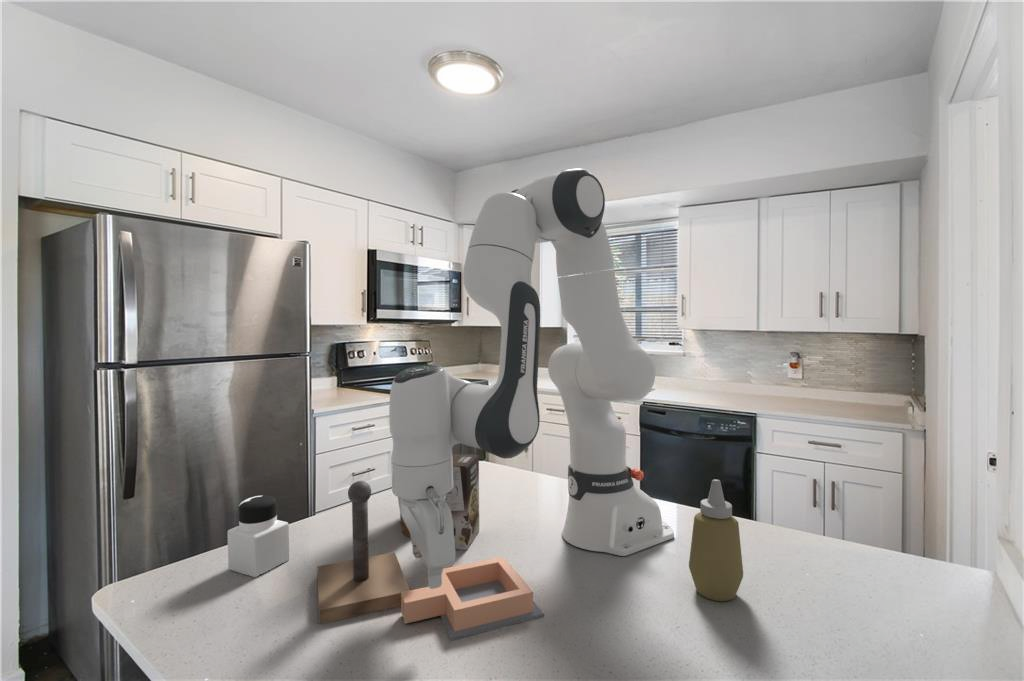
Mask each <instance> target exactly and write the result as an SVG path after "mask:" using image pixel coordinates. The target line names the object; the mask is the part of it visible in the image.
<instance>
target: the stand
mask: <svg viewBox="0 0 1024 681" xmlns="http://www.w3.org/2000/svg"><path fill="white" fill-rule="evenodd" d="M371 494H372V488H371V485H370V484H369V483H368V482H367V481H363V480H358V481H357V480H356V481H355V482H353V483H352V484H350V486H349V488H348V491H347V497H348V499H349V502H351V510H352V511H351V516H352V517H351V519H352V521H351V522H352V523H351V524H352V526H351V528H352V559H351V560H343V561H338V562H334V563H329V564H328V563H327V564H322V565H318V566H316V572H317V573H316V574H317V575H316V577H317V579H316V580H317V596H318V597H317V599H318V602H319V603H318V621H319V625H320V624H321V625H322V624H326V623H329V622H330V623H331V622H333V621H340V620H343V619H348V618H352V617H357V616H361V615H366V614H369V613H374V612H378V611H379V610H380V611H383V610H387V609H388V608H389V609H392V608H397V606H398V607H401V606H400V605H401V592H406V591H411V590H410V588H409V585H408V583H407V580H406V578H405V575H404V572H403V570H402V567H401V564H400V563H399V559H398V557H397V554H396V552H394V551H393V552H388V553H383V554H378V555H377V554H376V555H372V556H369V513H368V512H369V511H368V510H369V507H368V505H369V504H368V501H369V499H370V498H371V496H372V495H371ZM389 609H388V610H389Z"/></svg>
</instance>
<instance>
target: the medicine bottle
mask: <svg viewBox="0 0 1024 681" xmlns="http://www.w3.org/2000/svg"><path fill="white" fill-rule="evenodd" d="M277 507H278V505H277V499H276V498H275V496H270V495H255V496H252V497H249V498H246V499H245V500H243V501H240V503H239V505H238V524H239V525H238V526H237V525H236V526H235V527H232V528H230V529H228V530H227V534H226V535H227V561H228V562H227V563H228V564H227V565H228V570H229V571H233V572H236V573H239V574H242V575H245V576H248V575H249V577H252V576H253V578H255V577H256V578H258V577H260V576H261V575H260V574H262V575H263V573H264V574H265V572H266V573H267V572H269V571H271V570H273V569H275V568H277V567H278V565H279V566H280V564H281V565H282V563H283V564H284V563H286V562H288V561H289V560H290V535H289V534H290V533H289V530H290V529H289V528H290V527H289V522H287V521H283V520H279V519H278V508H277ZM276 566H277V567H276ZM268 570H269V571H268ZM259 575H260V576H259ZM257 576H258V577H257Z"/></svg>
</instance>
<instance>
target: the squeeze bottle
mask: <svg viewBox="0 0 1024 681" xmlns="http://www.w3.org/2000/svg"><path fill="white" fill-rule="evenodd" d="M721 483H722V482H721V480H720V479H712V480H711V484H710V489H709V492H708V496H707V497H708V498H703V499H702V500H700V503H699V504H700V509H699V510H700V511H699V512H697V513H696V514H695V515H694V517H693V526H692V532H691V543H690V551H689V560H688V567H689V568H688V569H689V572H690V574H691V578H692V581H693V583H694V587H695V590H696V591H697V593H699V594H700V595H701V596H702V597H705V598H707V599H709V600H712V601H716V602H728V601H732V600H733V599H735V597H737V593H738V591H739V588H740V586H741V583H742V580H743V578H744V567H743V565H744V564H743V556H742V547H741V545H742V544H741V537H740V536H741V535H740V527H739V526H740V525H739V522H738V520H737V519H736V518H735V516H733V505H732V503H730V502H729V501H726V500H725V497H724V491H723V487H722V484H721Z"/></svg>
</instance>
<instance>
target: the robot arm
mask: <svg viewBox="0 0 1024 681" xmlns="http://www.w3.org/2000/svg"><path fill="white" fill-rule="evenodd" d="M605 200H606V198H605V191H604V189H603V186H602V184H601V182H600V180H598V178H597V177H596V176H595V175H594V174H593V173H592V171H590V170H589V169H588V170H587V169H585V168H571V169H565V170H562V171H561V172H560V173H555V174H551V175H550V174H549V175H547V176H543V177H540V178H537V179H536V180H534V181H532V182H530V183H528V184H526V185H524V186H522V187H520V188H519V189H518V188H517V189H514V190H512V191H510V192H508V191H506V192H496V193H494V194H492V195H491V196H489V197H488V198H487V199H486V200H485V201H484V203H483V205H482V208H481V209H480V212H479V213H478V216H477V218H476V221H475V224H474V227H473V230H472V232H471V236H470V240H469V243H468V247H467V252H466V256H465V260H464V265H463V277H462V280H463V281H462V282H463V285H464V289H465V291H466V293H467V294H468V296H469V297H470V298H471V299H472V300H473V302H475V304H477V305H478V306H479V307H481V308H483V309H485V310H486V311H488V312H490V313H491V314H493V315H494V316H495V317H496V318H497V321H498V322H499V325H500V329H501V336H500V349H499V350H500V352H499V364H498V365H499V366H498V374H497V375H498V376H497V380H496V382H495V383H494V385H487V384H481V383H477V382H471V381H468V380H465V379H461V378H459V377H457V376H455V375H453V374H451V373H449V372H448V370H447V371H446V369H445V368H444V366H442V365H438V364H423V365H418V366H411V367H409V368H406V369H404V370H402V371H400V372H399V373H397V374H396V375H395V377H394V378H393V380H392V382H391V386H390V392H389V394H390V395H389V406H388V413H389V414H388V416H389V419H388V420H389V433H390V436H391V438H392V439H391V440H392V446H393V447H392V452H391V455H390V465H391V469H390V470H391V488H392V489H391V492H392V494H393V495H394V496H395V497H397V500H398V501H397V502H398V507H399V514H400V513H401V516H402V518H403V520H404V522H405V524H406V526H407V528H408V530H409V532H410V536H411V537H410V540H411V546H412V548H411V549H412V554H413V557H414V558H415V559H416V560H417V559H420V558H422V559H423V561H424V563H425V565H426V567H427V571H426V574H425V575H426V583H427V585H428V586H427V587H429V588H430V589H434V588H438V587H440V586H441V585H442V571H443V569H444V568H449V567H452V566H453V565H454V564H455V561H456V549H455V542H454V530H453V520H452V514H451V511H450V508H449V506H448V505H447V504H446V502H445V501H444V500H445V494H446V493H448V492H450V491H451V490H452V489H453V486H454V484H453V455H452V454H453V447H454V446H455V445H458V444H462V445H464V446H468V447H472V448H475V449H479V450H483V452H486V453H488V454H491V455H494V456H496V457H498V458H501V459H512V458H515V457H517V456H518V455H520V454H522V453H523V452H525V451H526V450H527V449H528V448H529V447H530V445H531V444H532V443H533V442H534V440H535V438H536V437H537V435H538V431H539V429H540V408H539V407H540V406H539V398H538V378H539V377H538V376H539V357H540V356H539V355H540V354H539V353H540V339H541V338H540V335H541V304H540V303H541V302H540V298H539V295H538V293H537V290H536V289H535V288H534V287H533V285H532V268H533V262H534V258H535V250H536V244H541V243H542V244H543V243H547V242H550V243H551V245H553V248H554V249H555V262H556V263H555V264H556V273H557V274H556V277H557V283H558V290H559V291H558V292H559V298H560V305H561V306H560V307H561V312H562V316H563V318H564V320H565V321H566V322H567V323H568V324H569V325H570V326H571V327H572V328H573V330H574V331H575V333H576V335H577V338H578V340H579V341H576V342H571V343H568V344H567V343H566V344H565V345H561V346H559V347H557V348H555V350H554V351H553V352H552V353H551V355H550V358H549V360H548V365H547V372H548V375H549V376H548V377H549V379H550V381H551V382H552V383H553V384H554V386H555V387H556V388H557V390H558V392H559V395H560V397H561V400H562V401H561V402H562V403H563V407H564V410H565V414H566V418H567V422H568V423H567V424H568V430H569V462H570V463H569V464H568V466H567V490H568V502H567V511H566V517H565V522H564V526H563V529H562V532H561V535H562V538H563V539H564V540H565V541H566V542H567V543H569V544H570V545H572V546H573V547H576V548H578V549H579V548H580V549H583V550H587V551H591V552H598V553H599V552H601V553H607V554H612V555H614V556H615V555H616V556H620V557H626V556H630V555H632V554H635V553H637V552H639V551H642V550H646V549H647V548H651V547H654V546H656V545H658V544H661V543H663V542H666V541H669V540H671V539H674V537H675V534H674V533H675V532H674V530H673V528H672V527H671V526H670V525H668V524H667V522H665V521H663V520H662V519H663V518H662V514H661V508H660V506H659V504H658V503H657V501H655V500H654V498H652V497H651V496H650V495H648V494H647V493H646V492H644V491H643V490H642V489H640V488H639V487H638V486H637V485H635V483H634V480H636V481H642V480H643V478H644V475H645V474H644V471H643V470H641V469H638V468H633V469H632V468H631V467H629V466H628V465H627V431H626V429H625V426H624V424H623V423H622V421H621V420H620V419H619V418H618V417H617V415H616V414H615V411H614V409H613V407H612V403H611V402H615V403H625V402H626V403H627V402H635V401H639V400H642V399H644V398H645V397H646V396H647V395H648V394H650V393H651V391H652V389H653V386H654V383H655V379H656V368H655V364H654V361H653V359H652V357H651V356H650V354H649V353H648V352H646V351H645V350H644V349H643V348H642V347H641V346H640V345H639V344H638V343H637V341H636V340H635V339H634V337H633V335H632V334H631V331H630V330H629V328H628V326H627V324H626V321H625V319H624V316H623V313H622V309H621V307H620V302H619V301H620V300H619V294H618V287H617V280H616V274H615V264H614V257H613V252H612V247H611V243H610V241H609V236H608V234H607V230H606V228H605V225H604V223H603V222H602V220H603V217H604V214H605V213H604V212H605V208H606V207H605V206H606V205H605V204H606V201H605ZM633 479H634V480H633Z"/></svg>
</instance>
